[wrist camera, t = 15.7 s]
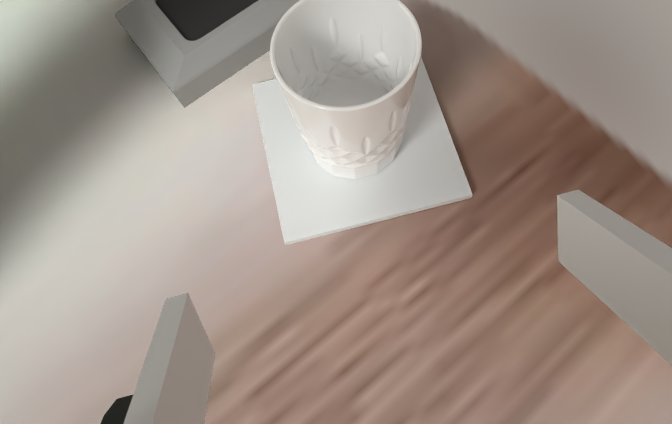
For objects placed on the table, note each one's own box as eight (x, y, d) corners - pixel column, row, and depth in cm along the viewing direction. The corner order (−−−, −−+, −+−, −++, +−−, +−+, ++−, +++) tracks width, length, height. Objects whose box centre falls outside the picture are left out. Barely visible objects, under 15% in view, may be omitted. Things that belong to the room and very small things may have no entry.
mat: (286, 245, 32) (284, 242, 31) (253, 89, 36) (251, 84, 36) (470, 198, 32) (472, 194, 31) (415, 47, 36) (416, 42, 36)
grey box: (106, 3, 36) (262, -94, 39) (130, 36, 40) (272, -55, 42) (166, 82, 33) (332, -28, 35) (186, 110, 37) (337, 8, 39)
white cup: (282, 119, 35) (246, 22, 25) (376, 73, 35) (375, -38, 26) (329, 207, 32) (309, 136, 23) (430, 156, 33) (451, 66, 23)
